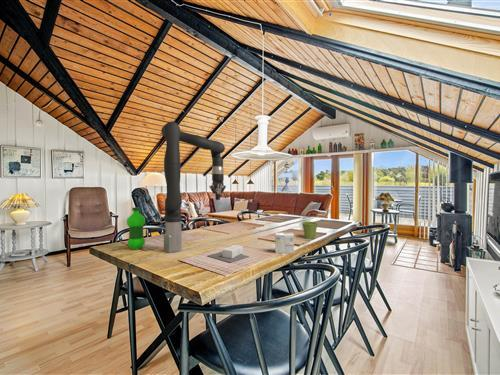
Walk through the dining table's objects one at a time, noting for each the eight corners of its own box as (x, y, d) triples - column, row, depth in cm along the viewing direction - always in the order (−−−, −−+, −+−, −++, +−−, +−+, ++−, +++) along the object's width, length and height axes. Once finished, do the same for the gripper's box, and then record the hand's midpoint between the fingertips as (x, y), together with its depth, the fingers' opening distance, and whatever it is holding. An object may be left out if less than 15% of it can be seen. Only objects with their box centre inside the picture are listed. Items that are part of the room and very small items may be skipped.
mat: (230, 263, 125) (230, 262, 125) (207, 256, 137) (207, 255, 137) (249, 256, 136) (249, 256, 136) (225, 251, 148) (225, 250, 148)
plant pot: (299, 236, 189) (299, 221, 189) (314, 236, 190) (314, 221, 190) (304, 240, 177) (304, 224, 177) (320, 239, 178) (320, 223, 178)
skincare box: (233, 252, 145) (222, 257, 134) (233, 244, 144) (222, 249, 134) (242, 253, 142) (232, 258, 131) (242, 245, 142) (232, 250, 131)
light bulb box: (293, 250, 149) (293, 232, 149) (294, 253, 142) (294, 234, 142) (275, 250, 150) (275, 232, 150) (275, 253, 143) (275, 234, 143)
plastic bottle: (146, 248, 154) (146, 207, 154) (127, 251, 148) (127, 208, 148) (144, 245, 162) (143, 206, 162) (125, 247, 157) (125, 207, 156)
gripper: (213, 173, 158) (213, 200, 158) (229, 173, 168) (229, 199, 168) (206, 173, 163) (206, 200, 163) (221, 174, 173) (221, 199, 173)
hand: (217, 199), depth 165 cm, fingers closed
